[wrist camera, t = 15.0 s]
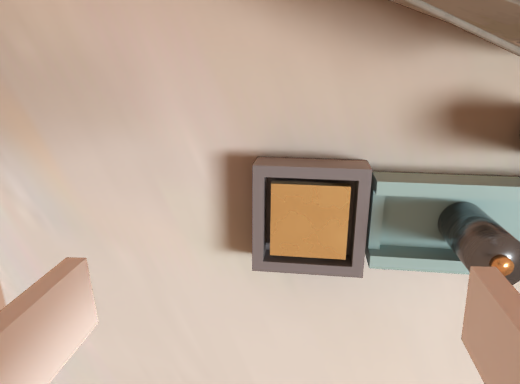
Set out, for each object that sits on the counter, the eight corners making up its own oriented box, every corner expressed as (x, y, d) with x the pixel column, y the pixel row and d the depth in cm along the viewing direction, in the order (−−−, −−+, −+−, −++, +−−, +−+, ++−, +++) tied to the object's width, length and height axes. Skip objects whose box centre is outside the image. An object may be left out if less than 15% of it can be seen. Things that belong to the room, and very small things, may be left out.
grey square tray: (257, 156, 38) (252, 165, 35) (367, 160, 37) (372, 169, 34) (257, 254, 41) (252, 270, 38) (358, 260, 40) (362, 277, 37)
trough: (371, 171, 37) (377, 181, 34) (560, 178, 36) (585, 189, 32) (364, 251, 40) (369, 268, 36) (541, 261, 38) (563, 280, 35)
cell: (440, 200, 36) (477, 239, 28) (487, 202, 36) (539, 241, 28) (435, 242, 38) (469, 291, 29) (481, 244, 37) (528, 294, 29)
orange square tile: (272, 180, 36) (271, 183, 35) (350, 183, 36) (351, 186, 35) (270, 250, 38) (269, 255, 37) (344, 254, 38) (345, 259, 37)
